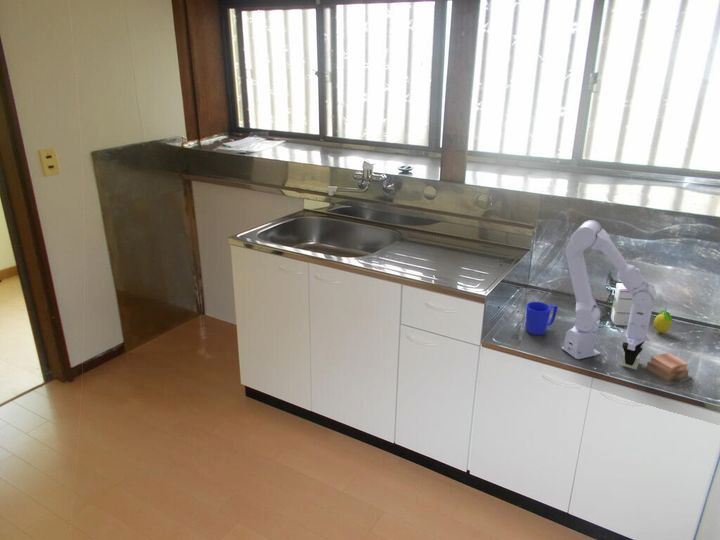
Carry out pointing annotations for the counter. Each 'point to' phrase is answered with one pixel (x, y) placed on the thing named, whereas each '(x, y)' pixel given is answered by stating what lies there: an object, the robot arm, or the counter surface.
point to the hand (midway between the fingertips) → (630, 360)
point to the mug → (538, 317)
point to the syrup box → (621, 305)
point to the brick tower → (667, 369)
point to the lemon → (663, 322)
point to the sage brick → (634, 362)
